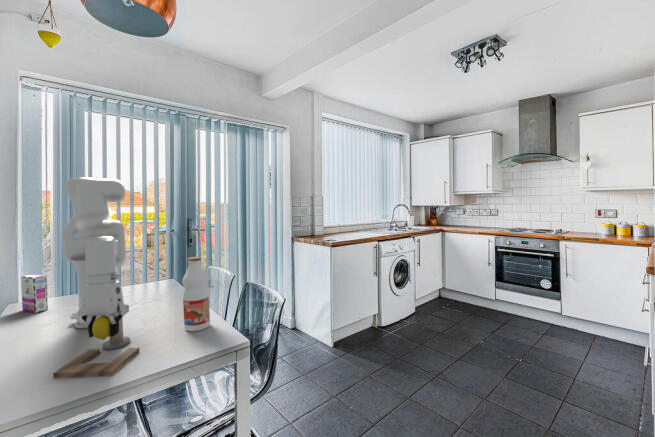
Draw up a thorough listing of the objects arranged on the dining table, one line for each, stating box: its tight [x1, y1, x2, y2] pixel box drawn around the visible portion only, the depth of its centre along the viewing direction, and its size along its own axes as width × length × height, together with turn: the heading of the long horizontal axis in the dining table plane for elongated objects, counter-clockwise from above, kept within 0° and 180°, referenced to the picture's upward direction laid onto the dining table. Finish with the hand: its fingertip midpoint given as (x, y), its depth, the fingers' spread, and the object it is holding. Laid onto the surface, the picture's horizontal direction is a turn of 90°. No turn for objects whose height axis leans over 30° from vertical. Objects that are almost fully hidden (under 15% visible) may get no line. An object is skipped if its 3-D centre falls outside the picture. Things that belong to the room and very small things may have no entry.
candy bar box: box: [20, 273, 49, 314], centre depth 140 cm, size 11×5×16 cm, turn 68°
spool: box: [101, 303, 131, 351], centre depth 105 cm, size 8×8×13 cm
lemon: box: [92, 315, 112, 341], centre depth 94 cm, size 6×6×8 cm
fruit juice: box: [182, 256, 211, 332], centre depth 119 cm, size 9×9×28 cm
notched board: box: [52, 347, 140, 379], centre depth 93 cm, size 16×14×2 cm
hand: (104, 334), depth 95 cm, fingers closed on lemon, 5 cm apart
